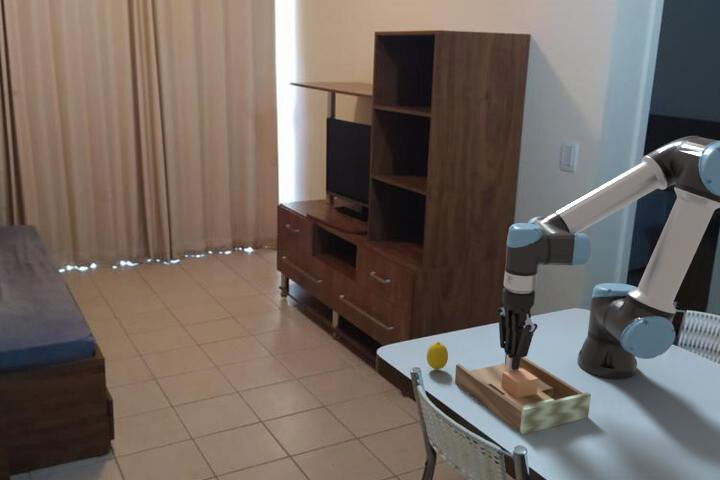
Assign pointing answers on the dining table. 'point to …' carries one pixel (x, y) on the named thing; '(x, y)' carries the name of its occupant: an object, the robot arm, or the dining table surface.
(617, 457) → the dining table surface
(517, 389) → the block
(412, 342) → the dining table surface
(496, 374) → the box
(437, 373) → the dining table surface
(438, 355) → the lemon
